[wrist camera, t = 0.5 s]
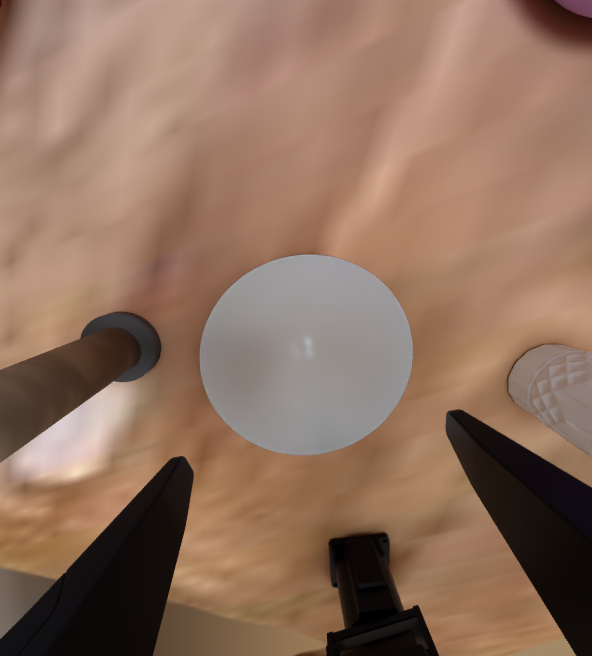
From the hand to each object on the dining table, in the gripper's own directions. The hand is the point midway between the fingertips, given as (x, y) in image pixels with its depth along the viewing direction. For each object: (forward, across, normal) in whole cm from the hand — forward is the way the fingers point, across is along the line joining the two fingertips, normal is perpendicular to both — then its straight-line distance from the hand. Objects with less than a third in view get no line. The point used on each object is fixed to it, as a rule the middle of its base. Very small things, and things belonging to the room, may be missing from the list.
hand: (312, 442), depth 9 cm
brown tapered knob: (+13, +15, 0) cm, 20 cm away
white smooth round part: (+13, 0, +6) cm, 14 cm away
